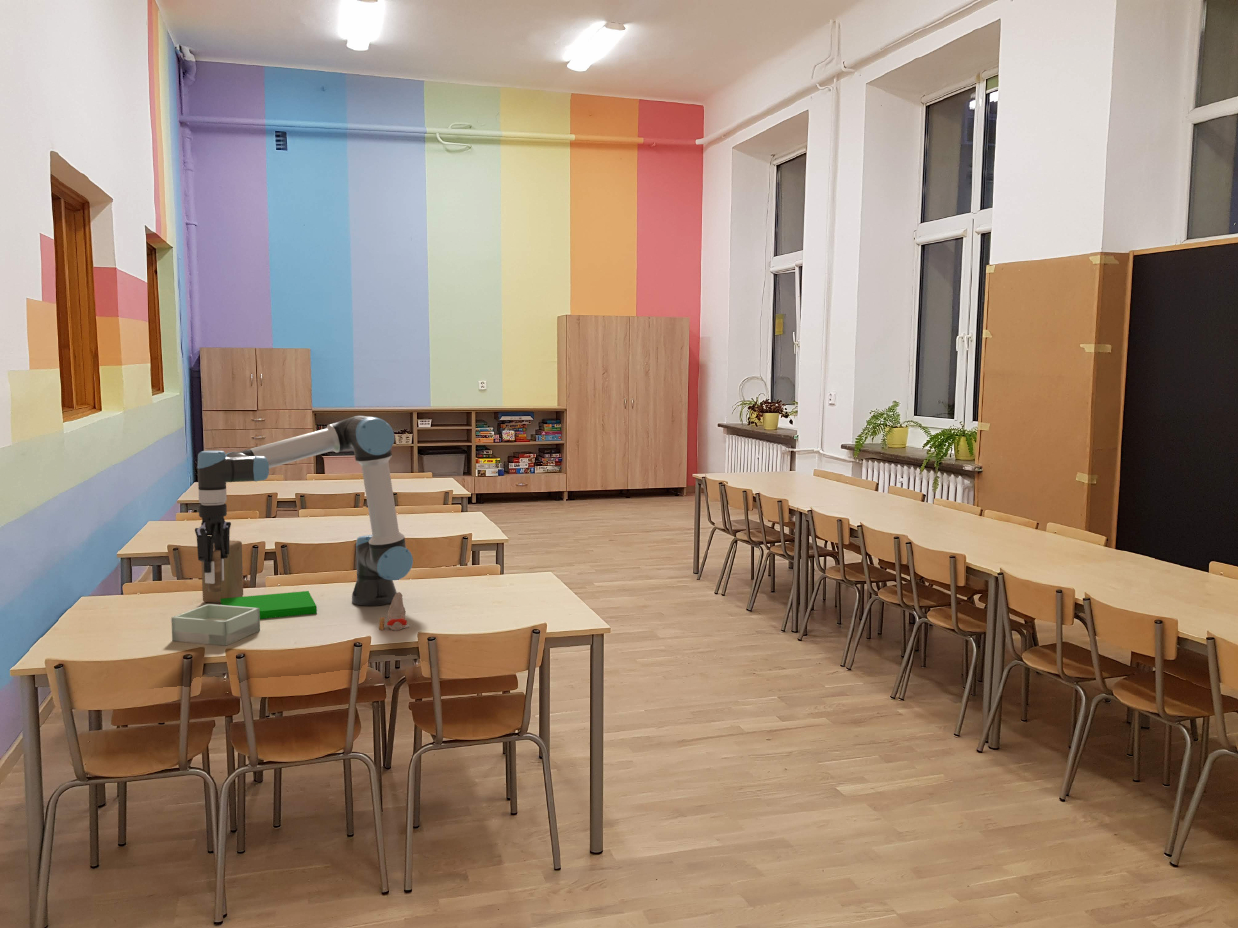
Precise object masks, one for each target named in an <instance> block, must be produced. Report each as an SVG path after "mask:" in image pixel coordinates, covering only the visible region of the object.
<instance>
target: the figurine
mask: <svg viewBox="0 0 1238 928" xmlns="http://www.w3.org/2000/svg"><path fill="white" fill-rule="evenodd" d="M406 619H407V618H406V608H405V606H404V601H403V594H402V593H401V592H398V591H397V593H396V594H395V596H394V598H393V600H392V602H391V603H390V605H389V608H388V611H387V620H388V621H387V623H386V625H387V627H388V629H390V631H401V630H403V629H405V628H406V629H407V628H410V625H409V624H408V620H406ZM385 620H386V617H385V616H382V617H379V626H378V630H382V631H384V629H385Z"/></svg>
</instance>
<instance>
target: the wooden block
mask: <svg viewBox="0 0 1238 928" xmlns="http://www.w3.org/2000/svg"><path fill="white" fill-rule="evenodd" d="M213 550H215V547H214V546H213ZM200 562H201V582H202V583H201V586H202V587H201V589H202V590H201V591H202V601H203V602H204V603H208V604H212V603H213V604H221V600H220V599H222V598H233V597H244V574H243V568H244V567H243V543H242V541H240V540H230V539H229V554H228V557H227V558H224V580H223V581H221V591H219V592H208V583H205V572H204V562H202V561H200Z"/></svg>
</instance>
